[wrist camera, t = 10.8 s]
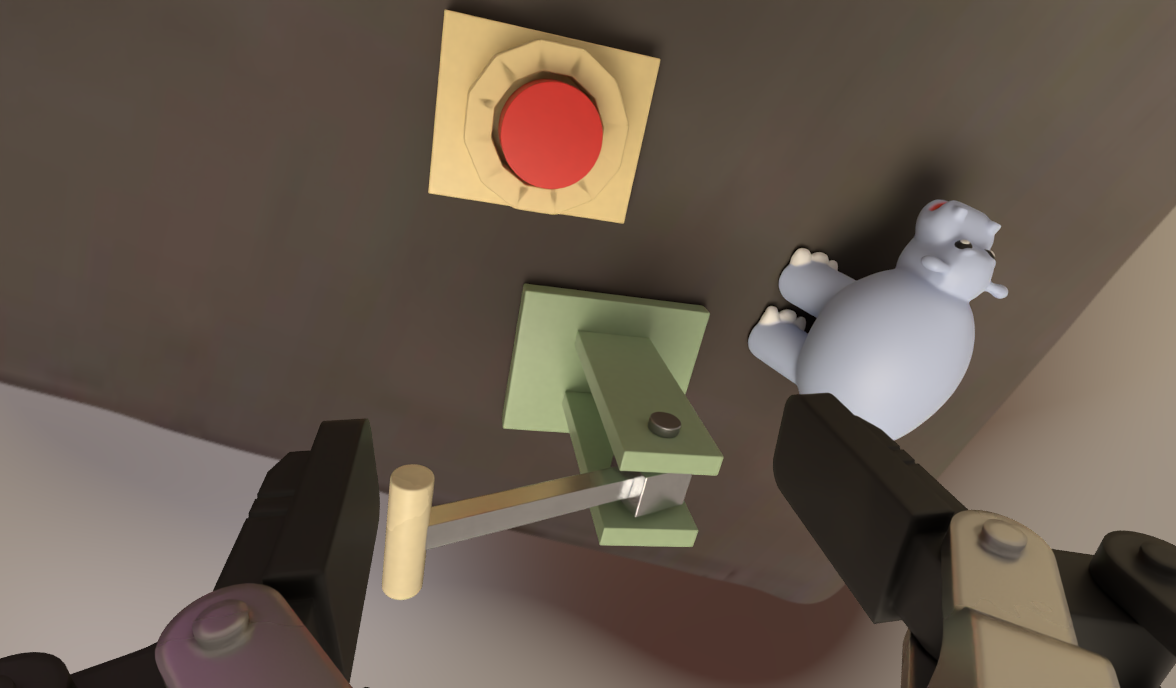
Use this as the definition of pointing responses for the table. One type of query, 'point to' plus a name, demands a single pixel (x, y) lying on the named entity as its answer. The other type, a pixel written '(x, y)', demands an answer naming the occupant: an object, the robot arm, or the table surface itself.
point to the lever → (502, 512)
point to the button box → (489, 77)
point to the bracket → (614, 395)
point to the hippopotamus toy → (886, 321)
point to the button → (550, 133)
